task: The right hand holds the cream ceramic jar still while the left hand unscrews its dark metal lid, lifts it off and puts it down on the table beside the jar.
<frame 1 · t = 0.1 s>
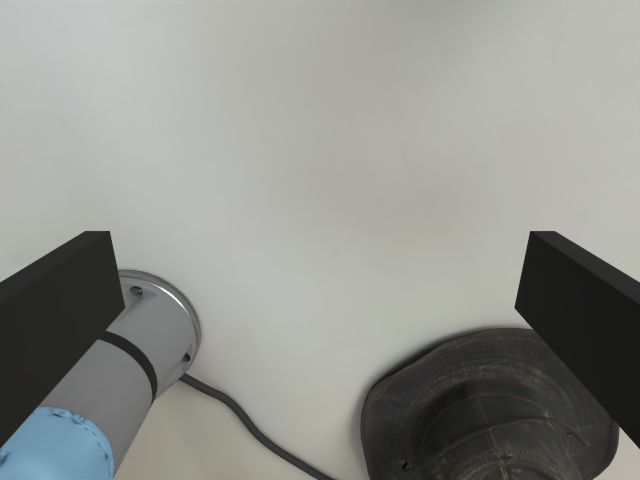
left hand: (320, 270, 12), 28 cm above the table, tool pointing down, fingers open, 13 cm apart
hat: (482, 435, 52), on the table
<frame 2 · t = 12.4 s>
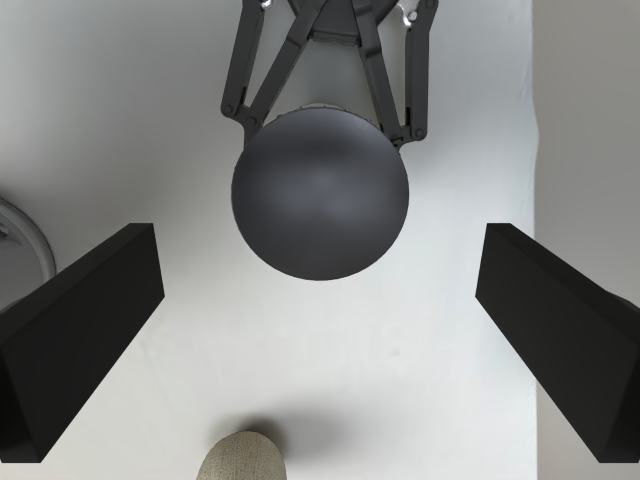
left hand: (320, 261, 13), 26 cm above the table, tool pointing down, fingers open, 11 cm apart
fruit: (248, 444, 51), on the table
lid: (320, 199, 20), point 18 cm above the table, screwed on, not yet turned
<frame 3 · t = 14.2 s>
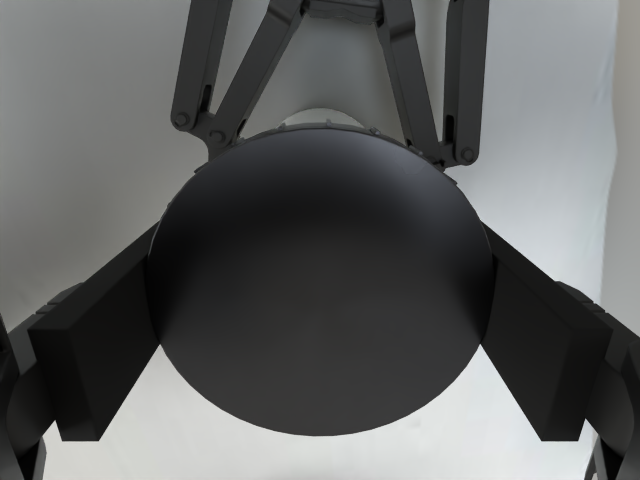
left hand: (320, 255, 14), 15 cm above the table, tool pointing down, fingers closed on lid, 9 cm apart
lid: (320, 300, 11), point 18 cm above the table, screwed on, not yet turned, touching left hand
jar: (319, 170, 28), on the table, touching right hand
when the left hand's fingers open (16 cm above the table, at t = 16.0 s): lid stays where it is, point 19 cm above the table.
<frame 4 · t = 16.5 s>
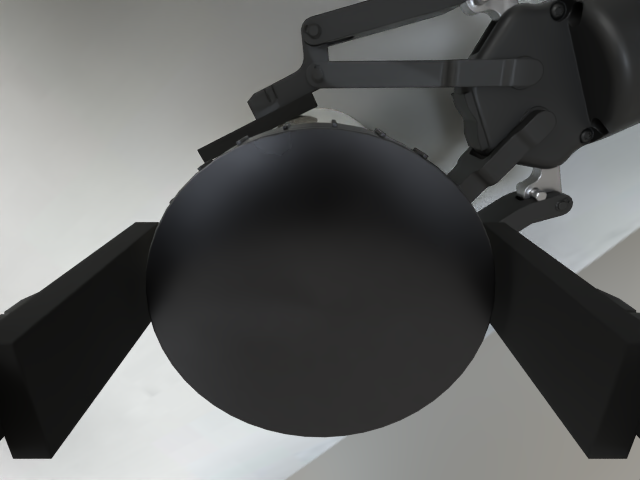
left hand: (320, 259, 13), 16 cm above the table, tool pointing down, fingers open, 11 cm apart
right hand: (248, 223, 23), fingers closed on jar, 8 cm apart
lid: (320, 300, 11), point 19 cm above the table, turned 99° so far, risen 0.3 cm, still on its thread
jar: (320, 169, 28), on the table, touching right hand
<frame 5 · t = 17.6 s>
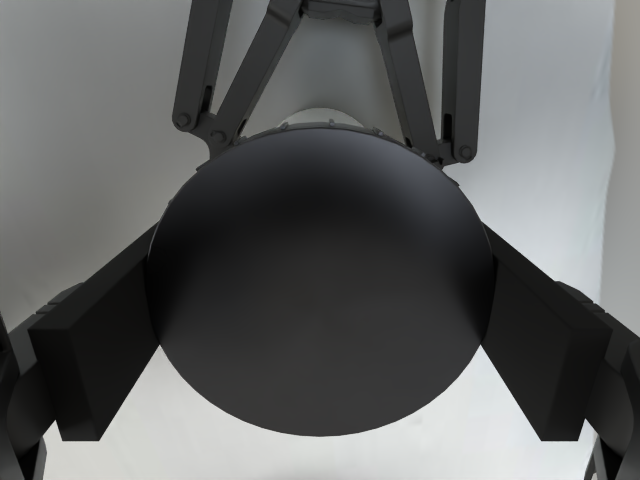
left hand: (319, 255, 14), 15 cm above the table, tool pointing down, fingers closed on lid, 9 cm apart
lid: (320, 300, 11), point 19 cm above the table, turned 99° so far, risen 0.3 cm, still on its thread, touching left hand
jar: (320, 169, 28), on the table, touching right hand
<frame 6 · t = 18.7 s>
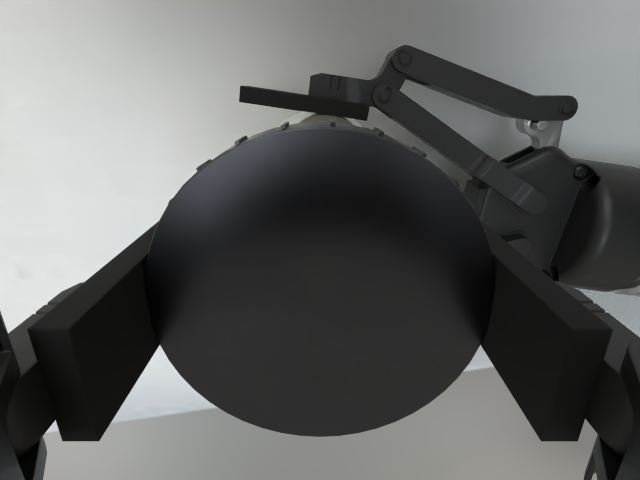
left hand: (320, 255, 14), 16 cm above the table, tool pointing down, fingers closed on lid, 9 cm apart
right hand: (239, 178, 22), fingers closed on jar, 8 cm apart
lid: (320, 300, 11), point 19 cm above the table, off its thread, touching left hand
jar: (320, 169, 28), on the table, touching right hand
when the left hand's fingers open (0 cm above the table, at t = 26.4 s): lid drops 2 cm, point 1 cm above the table.
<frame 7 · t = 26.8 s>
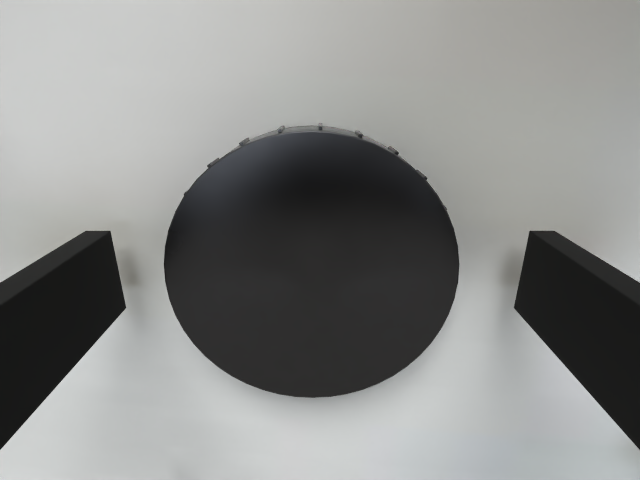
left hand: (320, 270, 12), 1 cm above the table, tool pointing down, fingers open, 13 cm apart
lid: (312, 277, 13), point 1 cm above the table, off its thread
when the right hand's fingers open (6 cm above the table, at t = 27.4 s): jar stays where it is, on the table.
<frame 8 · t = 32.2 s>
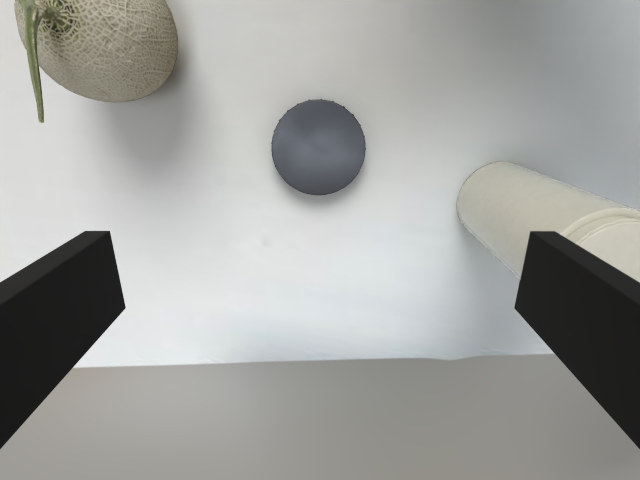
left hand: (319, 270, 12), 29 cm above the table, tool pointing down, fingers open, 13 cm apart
fruit: (133, 36, 36), on the table
lid: (318, 149, 39), point 1 cm above the table, off its thread
jar: (496, 201, 42), on the table
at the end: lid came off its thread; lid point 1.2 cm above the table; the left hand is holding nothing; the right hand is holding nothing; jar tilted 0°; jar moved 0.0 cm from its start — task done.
